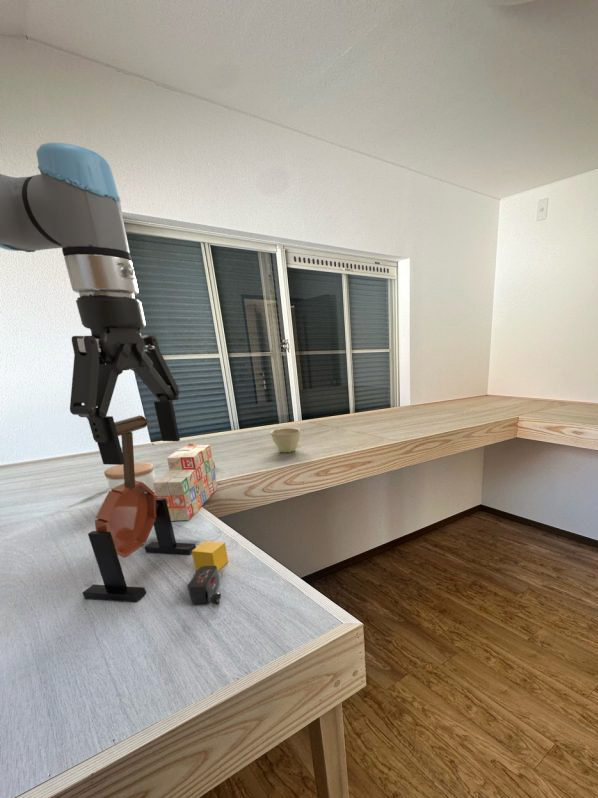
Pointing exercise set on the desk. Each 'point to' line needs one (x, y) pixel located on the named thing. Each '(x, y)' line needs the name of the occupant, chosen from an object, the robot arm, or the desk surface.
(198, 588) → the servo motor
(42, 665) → the desk surface
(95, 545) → the bowl stand
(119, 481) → the trinket box
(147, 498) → the tipping bowl
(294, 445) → the flower pot
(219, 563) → the block
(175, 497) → the stack of blocks
